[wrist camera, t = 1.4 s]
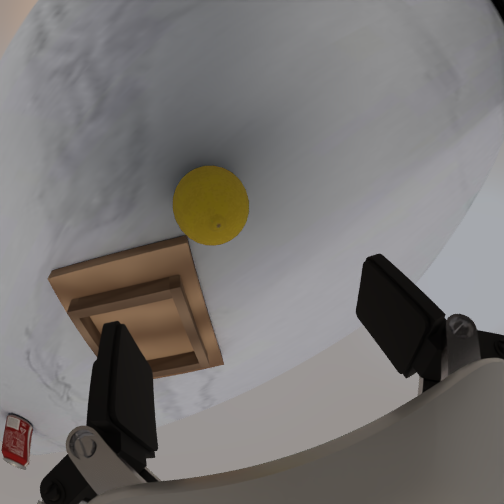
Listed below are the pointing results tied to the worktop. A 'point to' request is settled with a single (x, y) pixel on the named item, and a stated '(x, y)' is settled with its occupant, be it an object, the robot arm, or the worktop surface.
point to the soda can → (17, 441)
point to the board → (144, 304)
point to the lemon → (210, 205)
